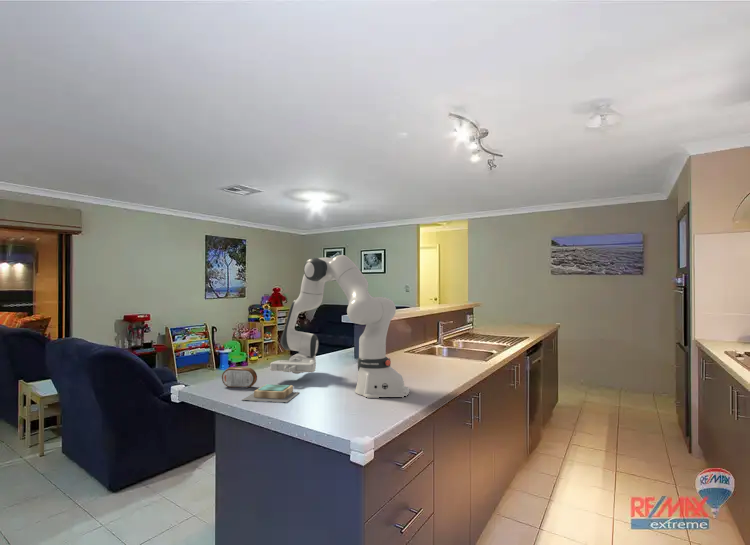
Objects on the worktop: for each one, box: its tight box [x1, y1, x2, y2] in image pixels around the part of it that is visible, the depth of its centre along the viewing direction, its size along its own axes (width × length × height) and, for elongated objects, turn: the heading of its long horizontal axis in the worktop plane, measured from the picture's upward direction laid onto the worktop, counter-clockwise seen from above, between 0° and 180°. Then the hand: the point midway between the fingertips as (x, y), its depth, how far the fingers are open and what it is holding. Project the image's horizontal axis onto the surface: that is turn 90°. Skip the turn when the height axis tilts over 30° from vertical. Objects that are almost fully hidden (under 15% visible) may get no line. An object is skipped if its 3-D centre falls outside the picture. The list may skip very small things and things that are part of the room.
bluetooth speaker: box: [221, 366, 258, 388], centre depth 160 cm, size 15×3×8 cm, turn 84°
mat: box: [242, 391, 300, 404], centre depth 146 cm, size 18×13×1 cm
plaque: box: [253, 383, 294, 399], centre depth 148 cm, size 12×3×10 cm
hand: (286, 370), depth 162 cm, fingers closed
